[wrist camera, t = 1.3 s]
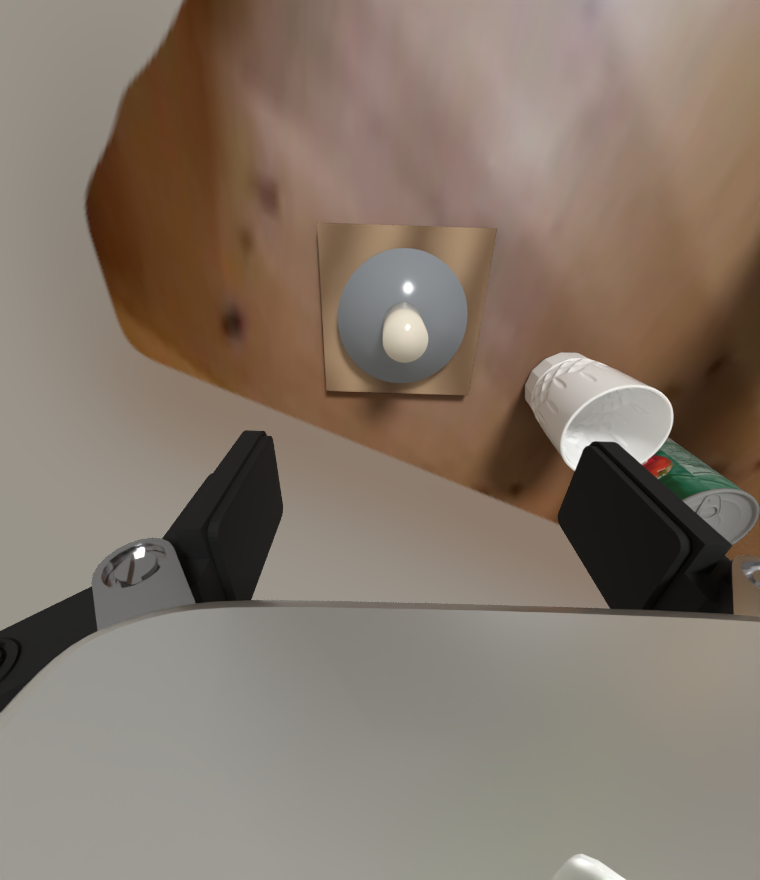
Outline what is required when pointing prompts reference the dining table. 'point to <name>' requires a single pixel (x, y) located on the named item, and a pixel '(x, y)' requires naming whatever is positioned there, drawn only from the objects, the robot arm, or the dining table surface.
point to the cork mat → (360, 242)
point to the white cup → (596, 407)
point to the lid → (402, 315)
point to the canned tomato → (704, 491)
